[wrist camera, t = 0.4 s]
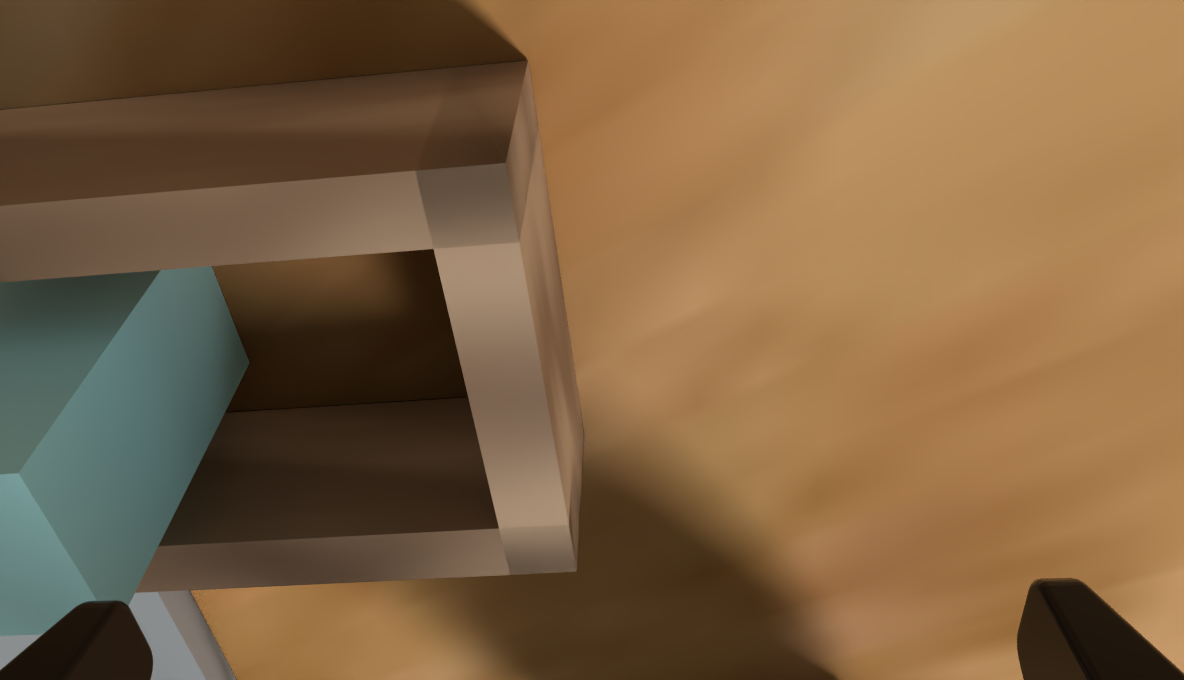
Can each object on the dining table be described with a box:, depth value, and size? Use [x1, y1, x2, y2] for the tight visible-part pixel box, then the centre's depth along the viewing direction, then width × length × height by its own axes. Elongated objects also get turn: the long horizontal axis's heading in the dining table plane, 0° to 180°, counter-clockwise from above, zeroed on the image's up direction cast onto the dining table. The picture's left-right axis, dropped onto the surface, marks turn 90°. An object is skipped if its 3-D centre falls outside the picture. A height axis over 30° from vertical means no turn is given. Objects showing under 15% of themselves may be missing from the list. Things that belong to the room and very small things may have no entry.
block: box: [0, 266, 249, 636], centre depth 21 cm, size 4×4×8 cm
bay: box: [0, 61, 584, 593], centre depth 22 cm, size 10×12×4 cm
